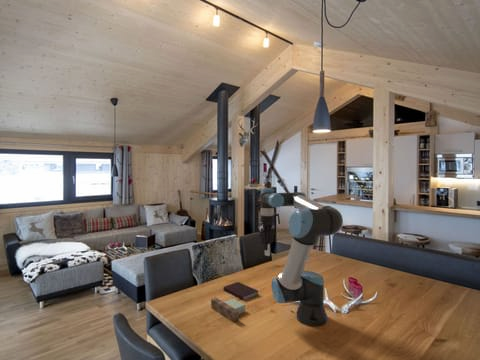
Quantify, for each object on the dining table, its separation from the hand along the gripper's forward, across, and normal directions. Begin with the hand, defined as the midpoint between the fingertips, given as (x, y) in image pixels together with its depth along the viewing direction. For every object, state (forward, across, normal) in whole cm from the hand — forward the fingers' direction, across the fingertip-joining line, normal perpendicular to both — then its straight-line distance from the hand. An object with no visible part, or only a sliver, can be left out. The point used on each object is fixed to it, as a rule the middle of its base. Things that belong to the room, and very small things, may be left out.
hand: (267, 255), depth 171 cm
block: (+26, +24, -4) cm, 35 cm away
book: (+26, +5, -17) cm, 32 cm away
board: (+26, +30, -4) cm, 40 cm away
